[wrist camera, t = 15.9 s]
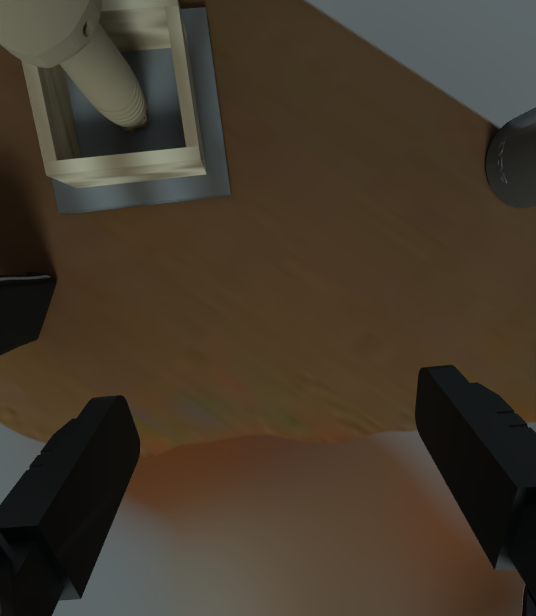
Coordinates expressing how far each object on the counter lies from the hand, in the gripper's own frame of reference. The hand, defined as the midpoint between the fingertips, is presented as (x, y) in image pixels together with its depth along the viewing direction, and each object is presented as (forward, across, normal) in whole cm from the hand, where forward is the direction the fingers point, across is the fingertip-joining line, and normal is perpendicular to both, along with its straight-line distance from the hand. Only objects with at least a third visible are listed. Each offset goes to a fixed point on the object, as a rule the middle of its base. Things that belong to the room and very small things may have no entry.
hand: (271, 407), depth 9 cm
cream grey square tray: (+29, +11, -11) cm, 33 cm away
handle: (+28, +11, -11) cm, 32 cm away
